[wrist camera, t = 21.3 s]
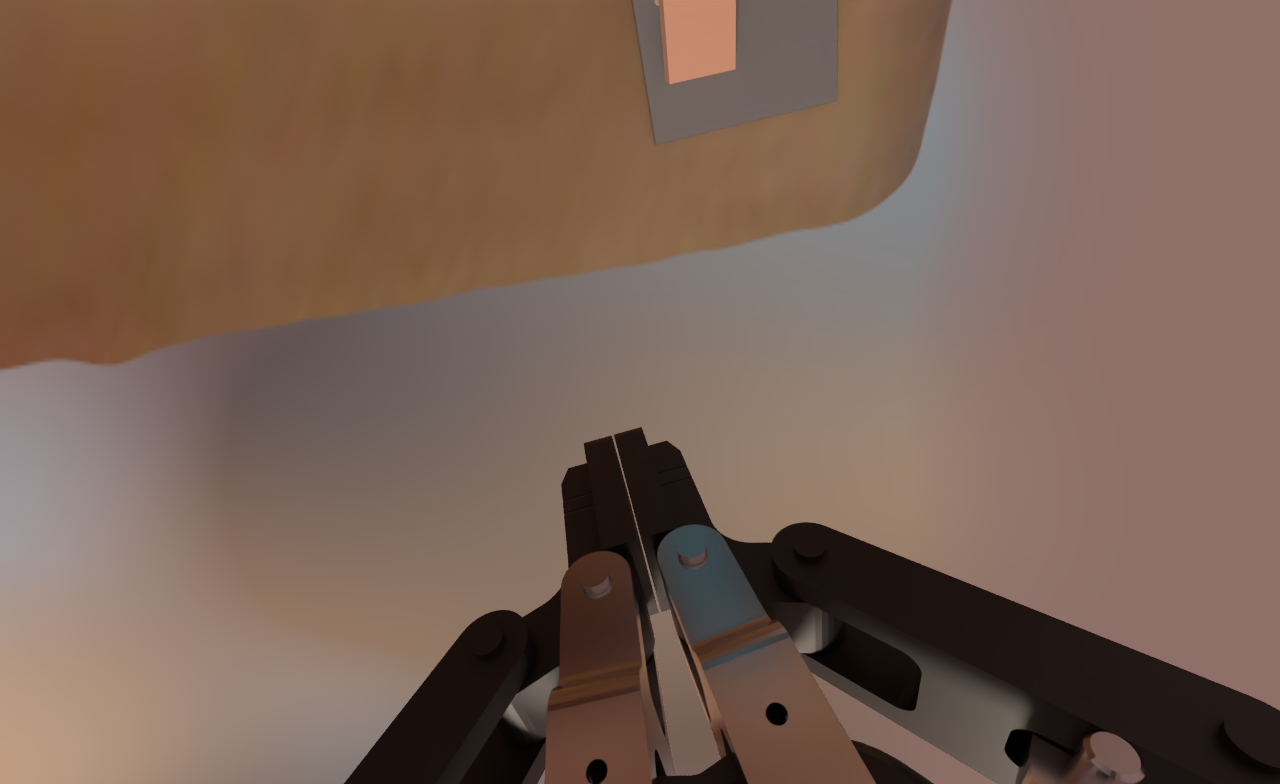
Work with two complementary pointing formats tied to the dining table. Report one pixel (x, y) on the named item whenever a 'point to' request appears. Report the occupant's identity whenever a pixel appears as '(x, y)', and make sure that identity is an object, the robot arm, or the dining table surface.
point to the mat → (745, 68)
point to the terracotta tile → (697, 38)
